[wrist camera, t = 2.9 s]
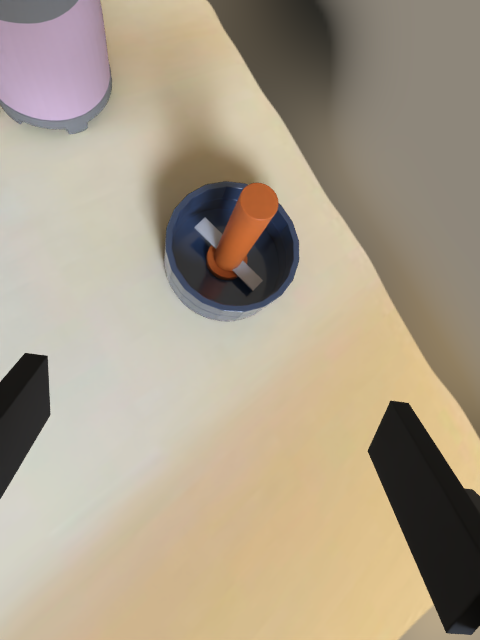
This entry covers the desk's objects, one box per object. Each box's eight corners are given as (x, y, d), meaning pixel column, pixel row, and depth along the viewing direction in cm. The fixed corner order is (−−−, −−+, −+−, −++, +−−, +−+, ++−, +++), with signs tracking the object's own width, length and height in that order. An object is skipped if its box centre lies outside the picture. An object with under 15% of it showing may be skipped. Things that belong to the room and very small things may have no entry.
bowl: (150, 218, 42) (149, 194, 36) (262, 197, 45) (276, 172, 40) (183, 335, 40) (187, 327, 35) (296, 304, 44) (315, 292, 38)
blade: (182, 245, 41) (196, 176, 28) (210, 219, 43) (236, 141, 29) (241, 302, 42) (282, 261, 28) (267, 275, 43) (319, 224, 29)
